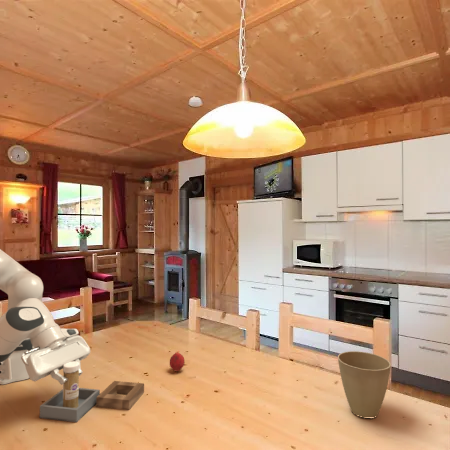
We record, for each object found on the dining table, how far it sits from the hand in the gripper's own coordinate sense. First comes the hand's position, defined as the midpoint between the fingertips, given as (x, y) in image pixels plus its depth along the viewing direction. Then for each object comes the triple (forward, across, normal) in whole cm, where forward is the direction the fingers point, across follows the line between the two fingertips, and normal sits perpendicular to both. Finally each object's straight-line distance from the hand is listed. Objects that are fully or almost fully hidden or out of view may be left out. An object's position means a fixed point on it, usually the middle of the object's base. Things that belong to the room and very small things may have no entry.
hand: (72, 378), depth 100 cm
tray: (+6, 0, +7) cm, 9 cm away
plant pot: (+65, +34, -52) cm, 90 cm away
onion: (+18, +36, -4) cm, 40 cm away
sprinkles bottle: (+6, 0, +7) cm, 9 cm away
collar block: (+14, +11, 0) cm, 17 cm away
